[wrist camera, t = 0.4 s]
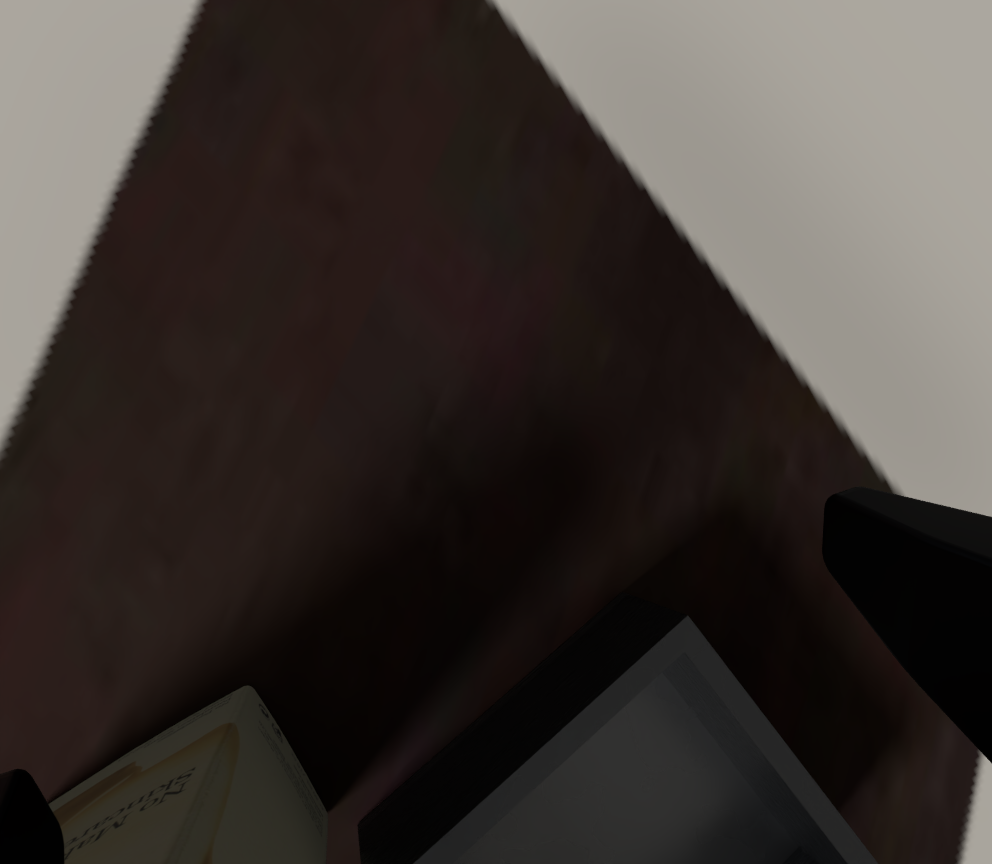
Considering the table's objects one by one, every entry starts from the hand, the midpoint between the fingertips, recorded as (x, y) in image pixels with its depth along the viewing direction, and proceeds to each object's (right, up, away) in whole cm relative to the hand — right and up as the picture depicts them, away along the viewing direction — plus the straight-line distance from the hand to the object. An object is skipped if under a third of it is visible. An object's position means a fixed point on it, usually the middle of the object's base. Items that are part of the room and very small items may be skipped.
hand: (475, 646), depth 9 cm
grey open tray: (+3, -9, +14) cm, 17 cm away
